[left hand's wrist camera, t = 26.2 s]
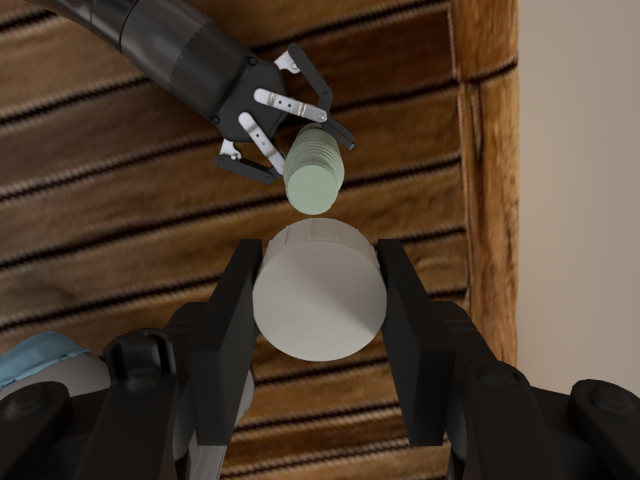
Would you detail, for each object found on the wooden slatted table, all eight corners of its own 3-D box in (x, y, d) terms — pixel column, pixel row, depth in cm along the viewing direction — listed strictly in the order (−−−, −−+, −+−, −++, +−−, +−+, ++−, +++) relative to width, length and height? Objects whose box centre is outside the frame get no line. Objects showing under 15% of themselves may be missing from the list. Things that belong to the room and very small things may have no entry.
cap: (391, 303, 15) (404, 341, 13) (286, 335, 16) (280, 376, 13) (358, 200, 14) (365, 221, 11) (242, 239, 14) (227, 267, 12)
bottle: (287, 139, 45) (260, 183, 24) (319, 114, 44) (318, 136, 23) (312, 171, 46) (306, 238, 25) (343, 147, 45) (363, 196, 24)
